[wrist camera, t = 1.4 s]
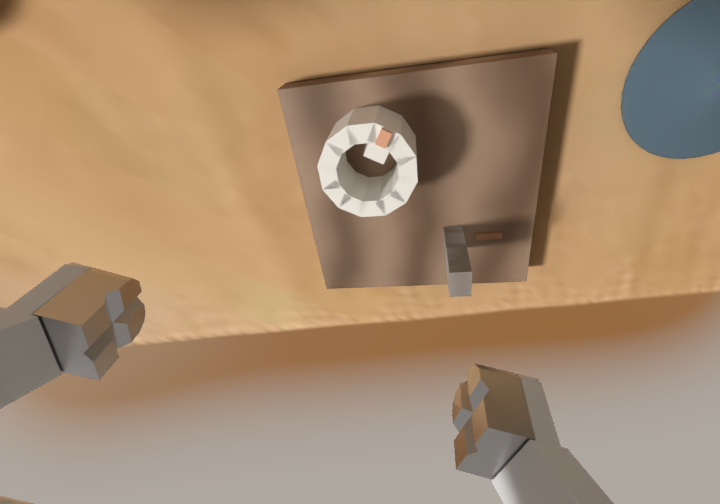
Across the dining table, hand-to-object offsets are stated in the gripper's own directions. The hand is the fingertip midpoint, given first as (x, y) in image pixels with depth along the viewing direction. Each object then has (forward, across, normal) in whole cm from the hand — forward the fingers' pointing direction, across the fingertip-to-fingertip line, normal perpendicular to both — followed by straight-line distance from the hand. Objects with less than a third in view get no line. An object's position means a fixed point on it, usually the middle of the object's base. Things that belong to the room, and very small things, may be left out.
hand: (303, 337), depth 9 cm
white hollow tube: (+21, 0, +3) cm, 21 cm away
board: (+23, -4, +6) cm, 24 cm away
